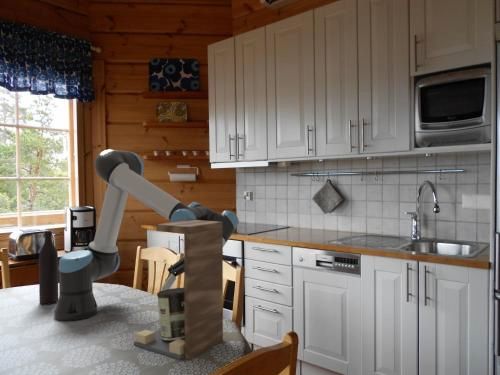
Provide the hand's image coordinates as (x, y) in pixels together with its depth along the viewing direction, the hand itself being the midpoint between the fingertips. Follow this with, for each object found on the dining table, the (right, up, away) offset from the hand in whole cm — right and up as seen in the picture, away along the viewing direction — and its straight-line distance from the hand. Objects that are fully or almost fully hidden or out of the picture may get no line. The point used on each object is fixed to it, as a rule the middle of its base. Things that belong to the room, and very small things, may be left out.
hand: (176, 297), depth 131 cm
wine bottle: (-60, -12, +35) cm, 71 cm away
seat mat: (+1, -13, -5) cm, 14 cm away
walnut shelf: (+6, -13, -8) cm, 16 cm away
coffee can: (+1, -11, -4) cm, 12 cm away
